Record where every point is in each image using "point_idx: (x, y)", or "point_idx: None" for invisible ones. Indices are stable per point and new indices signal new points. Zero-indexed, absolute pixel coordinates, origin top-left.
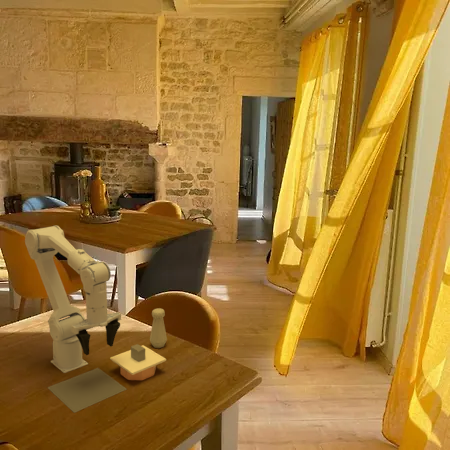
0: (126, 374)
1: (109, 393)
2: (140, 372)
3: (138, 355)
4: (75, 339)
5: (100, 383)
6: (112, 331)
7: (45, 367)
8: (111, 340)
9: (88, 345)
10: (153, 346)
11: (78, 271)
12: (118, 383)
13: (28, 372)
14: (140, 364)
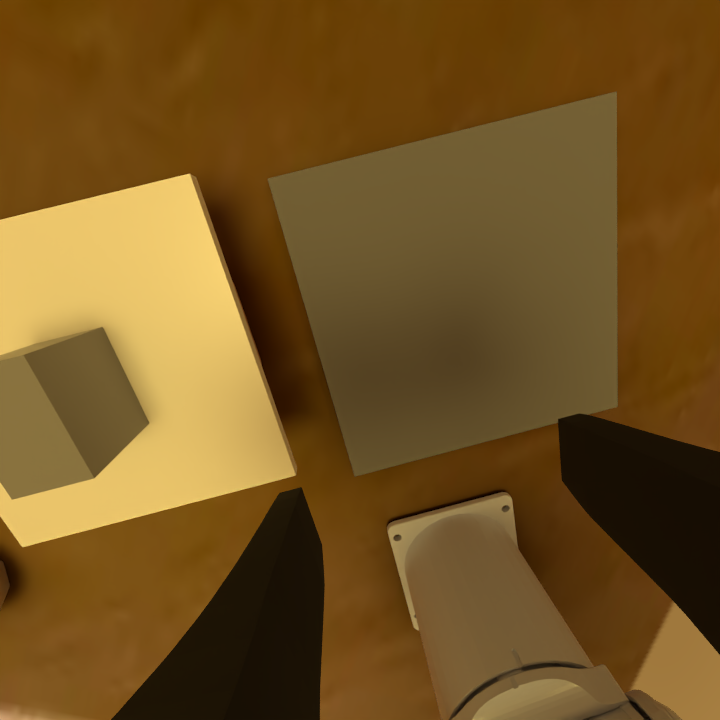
0: None
1: (380, 188)
2: None
3: (58, 341)
4: (517, 696)
5: (391, 322)
6: (238, 707)
7: (549, 565)
8: (286, 540)
9: (684, 466)
10: (2, 570)
11: None
12: (299, 271)
13: (617, 553)
14: (91, 280)
